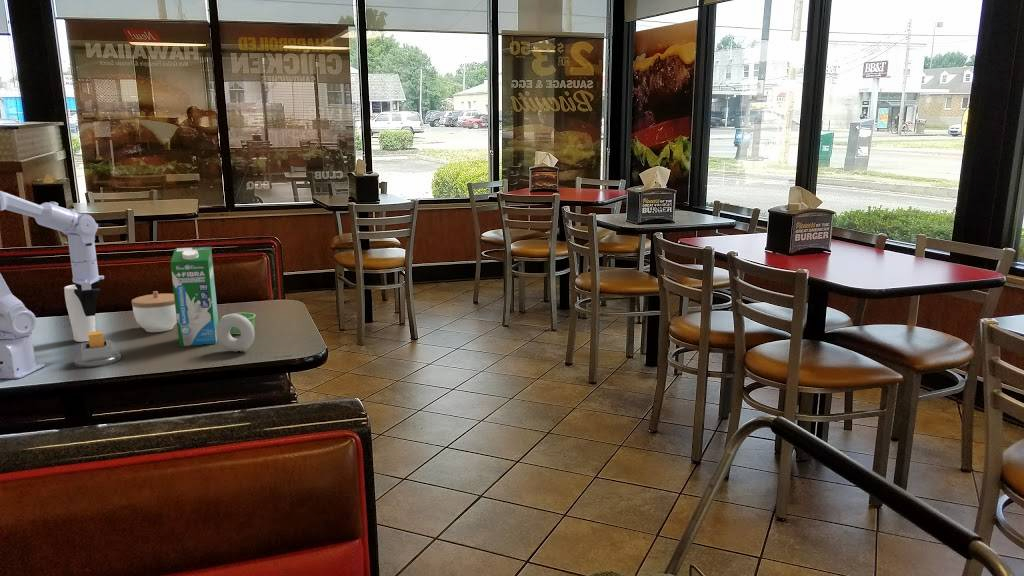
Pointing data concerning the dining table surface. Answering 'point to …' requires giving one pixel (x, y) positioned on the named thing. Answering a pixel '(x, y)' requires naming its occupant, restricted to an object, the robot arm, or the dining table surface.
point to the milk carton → (194, 295)
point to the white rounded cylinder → (78, 316)
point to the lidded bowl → (155, 312)
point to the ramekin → (249, 316)
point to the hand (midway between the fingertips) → (90, 312)
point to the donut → (225, 336)
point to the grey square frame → (97, 355)
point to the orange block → (96, 339)
